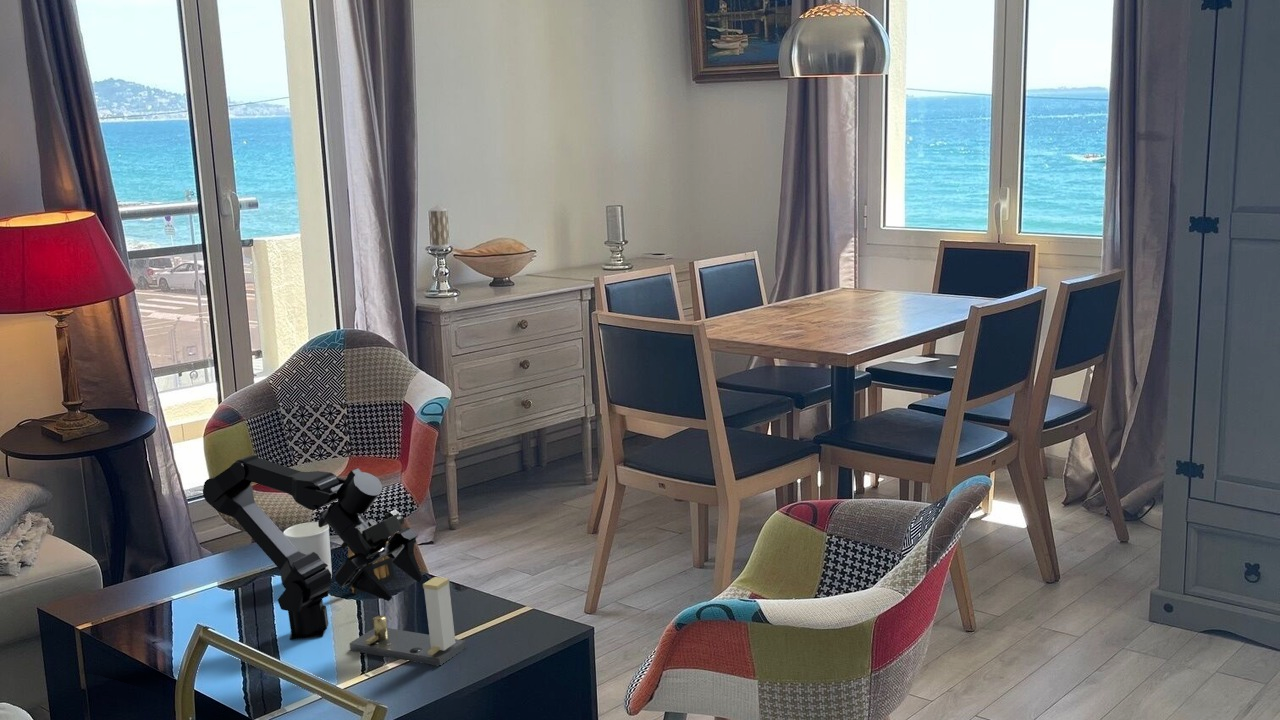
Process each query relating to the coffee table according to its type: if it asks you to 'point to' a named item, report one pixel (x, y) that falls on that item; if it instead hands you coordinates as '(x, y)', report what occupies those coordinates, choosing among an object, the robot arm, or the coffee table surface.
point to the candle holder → (311, 540)
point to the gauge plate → (402, 644)
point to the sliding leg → (439, 614)
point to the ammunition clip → (378, 570)
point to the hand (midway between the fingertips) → (406, 589)
